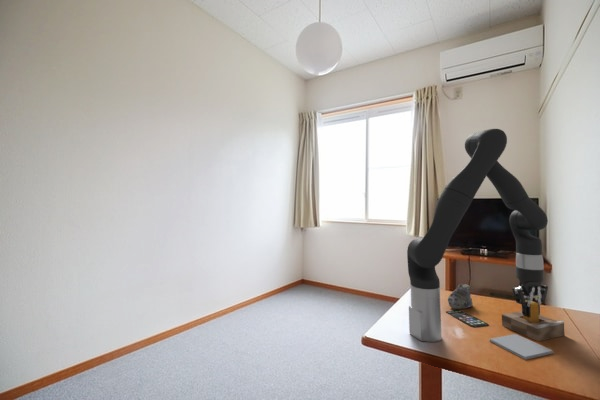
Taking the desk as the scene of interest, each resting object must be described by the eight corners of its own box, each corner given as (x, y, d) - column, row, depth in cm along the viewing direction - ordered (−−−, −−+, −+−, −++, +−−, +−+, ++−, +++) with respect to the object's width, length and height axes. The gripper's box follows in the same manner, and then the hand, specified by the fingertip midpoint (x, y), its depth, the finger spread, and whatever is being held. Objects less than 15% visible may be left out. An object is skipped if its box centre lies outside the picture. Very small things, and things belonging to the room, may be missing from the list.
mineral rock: (450, 312, 114) (450, 287, 114) (438, 302, 125) (437, 280, 125) (482, 311, 114) (481, 287, 114) (466, 302, 125) (465, 279, 125)
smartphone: (460, 309, 116) (490, 324, 101) (460, 311, 116) (490, 326, 101) (444, 311, 114) (472, 326, 100) (444, 313, 114) (472, 328, 100)
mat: (525, 359, 79) (524, 356, 79) (489, 341, 90) (489, 338, 90) (552, 353, 82) (552, 350, 82) (515, 336, 93) (515, 333, 93)
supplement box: (540, 331, 95) (539, 302, 95) (531, 332, 95) (530, 303, 95) (531, 327, 98) (530, 299, 98) (523, 328, 98) (521, 300, 98)
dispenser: (537, 341, 89) (537, 326, 89) (502, 325, 101) (501, 312, 101) (564, 335, 92) (564, 321, 92) (526, 320, 104) (526, 308, 104)
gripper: (525, 270, 91) (527, 322, 91) (556, 266, 95) (558, 317, 95) (503, 265, 99) (505, 314, 98) (533, 262, 102) (534, 309, 102)
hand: (531, 315), depth 96 cm, fingers closed on supplement box, 3 cm apart
